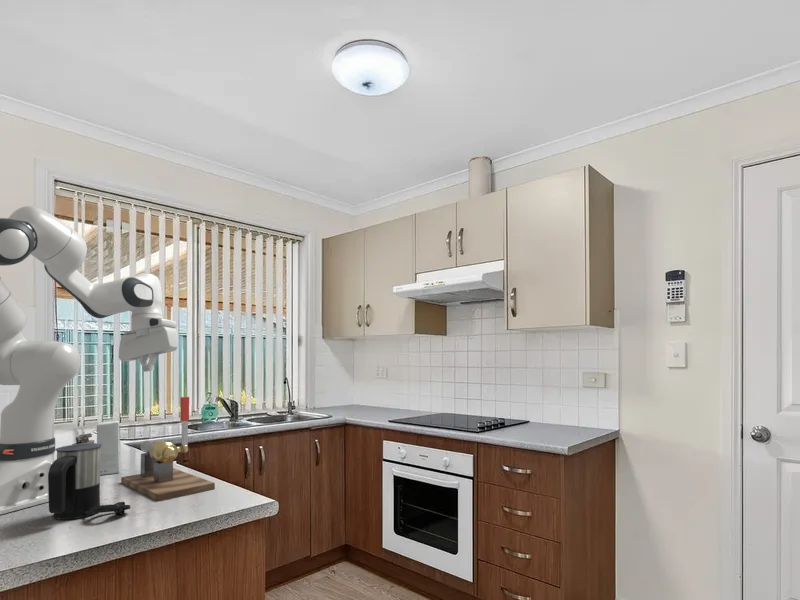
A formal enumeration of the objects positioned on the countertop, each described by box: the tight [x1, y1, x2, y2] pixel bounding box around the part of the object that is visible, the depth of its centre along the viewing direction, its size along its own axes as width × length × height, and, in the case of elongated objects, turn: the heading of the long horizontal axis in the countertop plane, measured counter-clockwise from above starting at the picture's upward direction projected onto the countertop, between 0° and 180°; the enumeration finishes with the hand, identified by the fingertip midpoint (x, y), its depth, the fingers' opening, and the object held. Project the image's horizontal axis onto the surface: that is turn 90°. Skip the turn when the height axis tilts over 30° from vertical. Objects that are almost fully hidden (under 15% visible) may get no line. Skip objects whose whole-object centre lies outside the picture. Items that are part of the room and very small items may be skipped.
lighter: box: [71, 432, 95, 445], centre depth 170 cm, size 8×3×10 cm, turn 171°
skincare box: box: [96, 420, 121, 476], centre depth 161 cm, size 8×6×15 cm
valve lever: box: [179, 396, 190, 454], centre depth 146 cm, size 2×2×15 cm
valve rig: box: [120, 440, 216, 502], centre depth 142 cm, size 27×14×12 cm, turn 44°
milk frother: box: [48, 442, 131, 521], centre depth 118 cm, size 14×16×15 cm
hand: (148, 371), depth 160 cm, fingers closed
